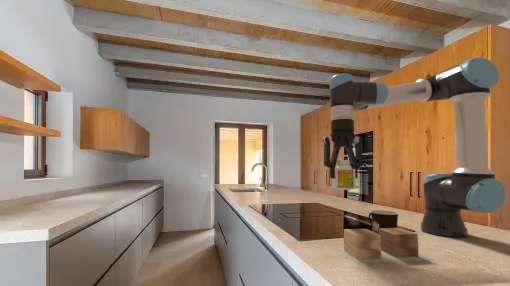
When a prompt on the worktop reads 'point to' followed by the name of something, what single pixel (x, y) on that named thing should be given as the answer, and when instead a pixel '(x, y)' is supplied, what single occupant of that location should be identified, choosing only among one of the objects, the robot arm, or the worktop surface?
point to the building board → (385, 257)
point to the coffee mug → (383, 219)
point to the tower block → (399, 242)
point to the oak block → (362, 243)
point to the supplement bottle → (344, 175)
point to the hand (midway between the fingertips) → (344, 188)
